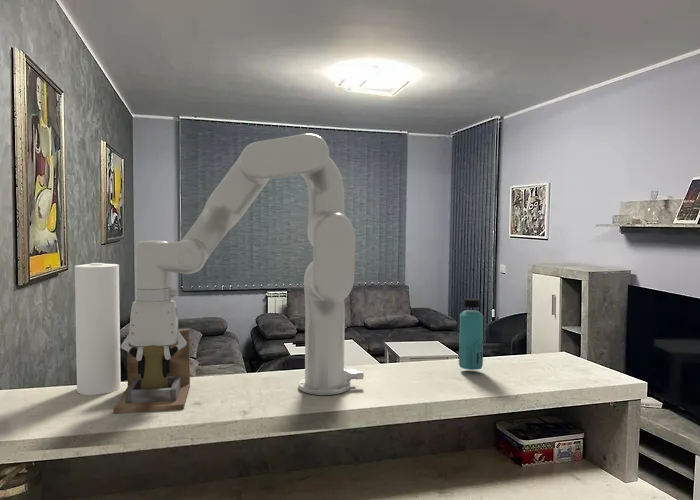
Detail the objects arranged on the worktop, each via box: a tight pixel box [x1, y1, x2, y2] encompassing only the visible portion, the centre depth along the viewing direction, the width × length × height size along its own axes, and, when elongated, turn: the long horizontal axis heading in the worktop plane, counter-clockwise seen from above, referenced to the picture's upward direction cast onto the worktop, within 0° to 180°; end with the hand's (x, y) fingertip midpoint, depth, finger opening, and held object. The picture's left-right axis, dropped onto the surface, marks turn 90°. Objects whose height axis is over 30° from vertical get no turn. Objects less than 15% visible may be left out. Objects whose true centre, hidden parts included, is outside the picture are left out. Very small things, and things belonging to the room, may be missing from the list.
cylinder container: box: [74, 262, 122, 396], centre depth 125 cm, size 9×9×30 cm
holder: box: [112, 328, 191, 414], centre depth 119 cm, size 14×16×14 cm
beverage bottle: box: [458, 298, 484, 371], centre depth 142 cm, size 6×7×20 cm
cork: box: [140, 345, 169, 390], centre depth 119 cm, size 6×6×11 cm
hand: (154, 375), depth 119 cm, fingers closed on cork, 4 cm apart
